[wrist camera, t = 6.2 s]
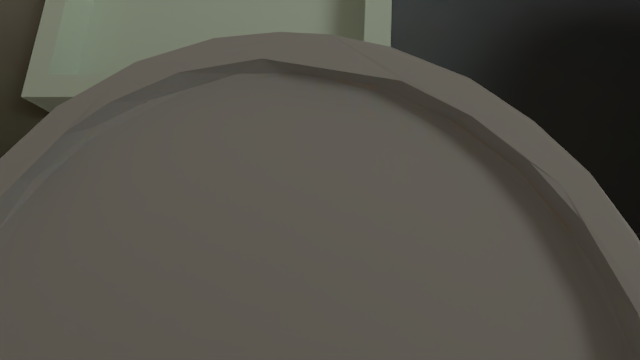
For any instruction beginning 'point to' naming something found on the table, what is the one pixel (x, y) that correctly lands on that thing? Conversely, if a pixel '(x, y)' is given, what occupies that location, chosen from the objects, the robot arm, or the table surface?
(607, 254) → the disposable coffee cup
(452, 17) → the table surface
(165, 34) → the tray
